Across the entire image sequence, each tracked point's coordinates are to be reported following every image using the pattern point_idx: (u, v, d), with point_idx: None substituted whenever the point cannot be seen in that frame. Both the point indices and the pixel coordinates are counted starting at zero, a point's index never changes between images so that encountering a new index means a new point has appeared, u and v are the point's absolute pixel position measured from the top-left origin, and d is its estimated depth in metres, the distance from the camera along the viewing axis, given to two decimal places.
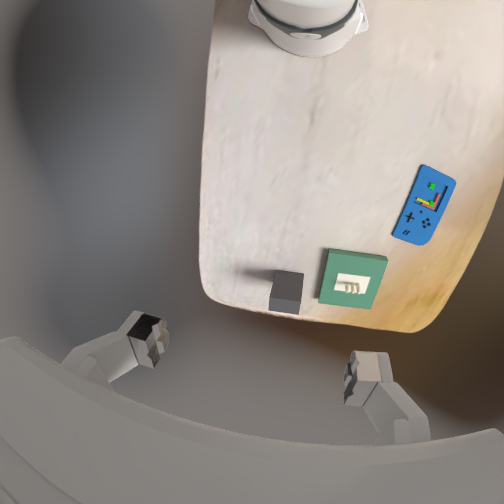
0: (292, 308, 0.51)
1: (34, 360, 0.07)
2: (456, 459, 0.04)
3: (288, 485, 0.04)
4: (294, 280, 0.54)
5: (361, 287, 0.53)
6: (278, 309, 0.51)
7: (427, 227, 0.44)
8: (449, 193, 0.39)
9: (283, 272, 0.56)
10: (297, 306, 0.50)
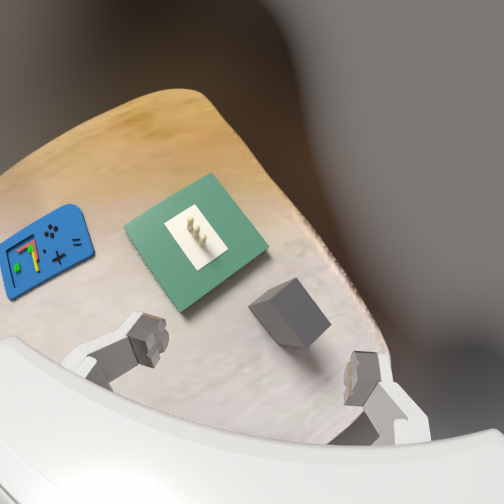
0: (294, 296, 0.25)
1: (34, 360, 0.07)
2: (456, 459, 0.04)
3: (288, 485, 0.04)
4: (262, 316, 0.30)
5: None
6: (316, 313, 0.25)
7: (53, 224, 0.28)
8: (9, 241, 0.26)
9: (270, 333, 0.32)
10: (282, 295, 0.25)
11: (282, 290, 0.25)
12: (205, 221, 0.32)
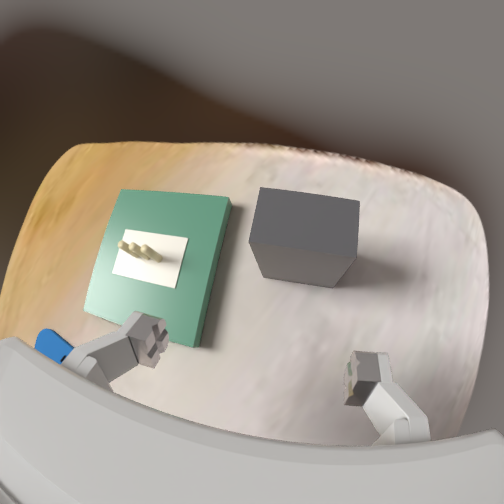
0: (278, 209, 0.15)
1: (34, 360, 0.07)
2: (456, 459, 0.04)
3: (288, 485, 0.04)
4: (282, 272, 0.20)
5: None
6: (326, 205, 0.15)
7: None
8: None
9: (314, 284, 0.22)
10: (261, 220, 0.15)
11: (256, 216, 0.15)
12: (146, 234, 0.24)
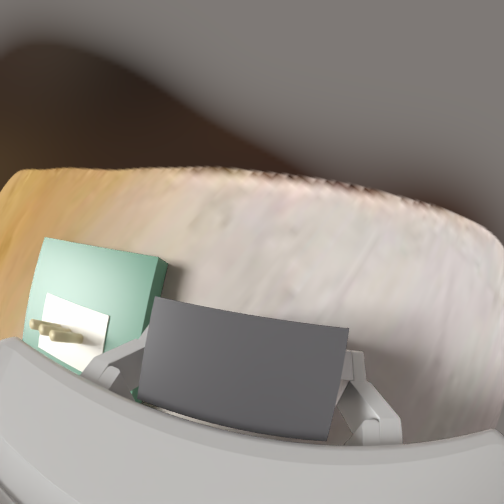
0: (183, 347, 0.07)
1: (34, 360, 0.07)
2: (456, 459, 0.04)
3: (288, 485, 0.04)
4: None
5: (51, 316, 0.16)
6: (279, 341, 0.07)
7: None
8: None
9: None
10: (155, 365, 0.07)
11: (147, 354, 0.08)
12: (66, 303, 0.16)
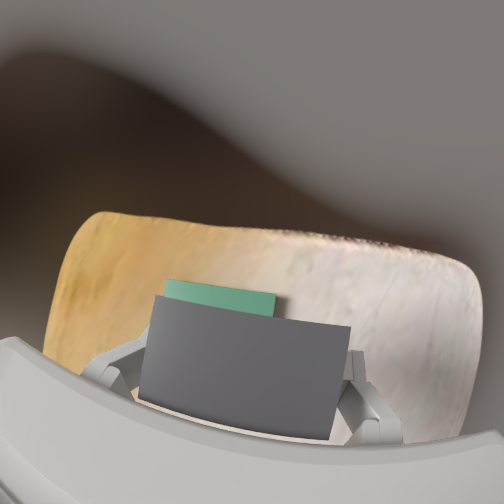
0: (184, 346, 0.07)
1: (34, 360, 0.07)
2: (456, 459, 0.04)
3: (288, 485, 0.04)
4: None
5: None
6: (281, 339, 0.07)
7: None
8: None
9: None
10: (156, 364, 0.07)
11: (148, 353, 0.07)
12: None
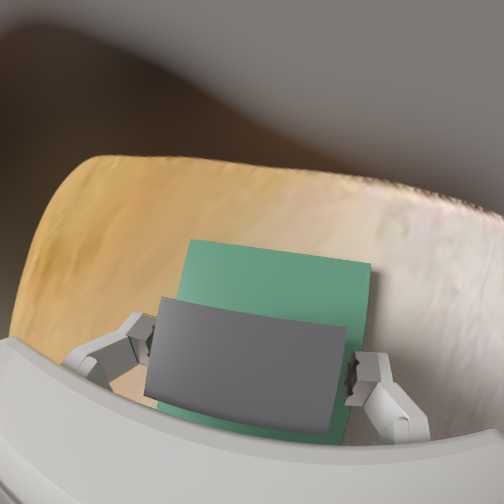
0: (189, 345, 0.08)
1: (34, 360, 0.07)
2: (456, 459, 0.04)
3: (288, 485, 0.04)
4: None
5: None
6: (280, 339, 0.08)
7: None
8: None
9: None
10: (161, 363, 0.08)
11: (153, 352, 0.08)
12: None
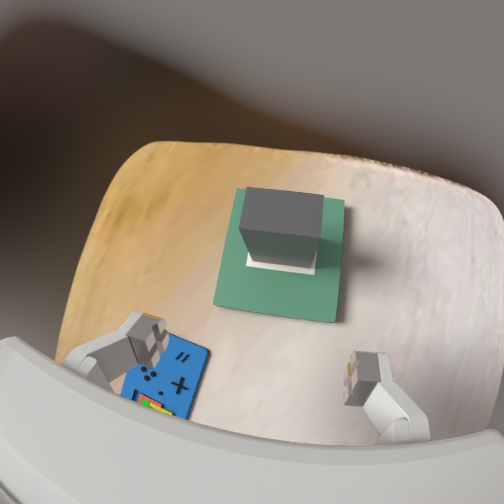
0: (260, 203, 0.20)
1: (34, 360, 0.07)
2: (456, 459, 0.04)
3: (288, 485, 0.04)
4: (267, 255, 0.25)
5: None
6: (297, 199, 0.20)
7: None
8: None
9: (294, 265, 0.26)
10: (248, 212, 0.20)
11: (243, 209, 0.20)
12: None
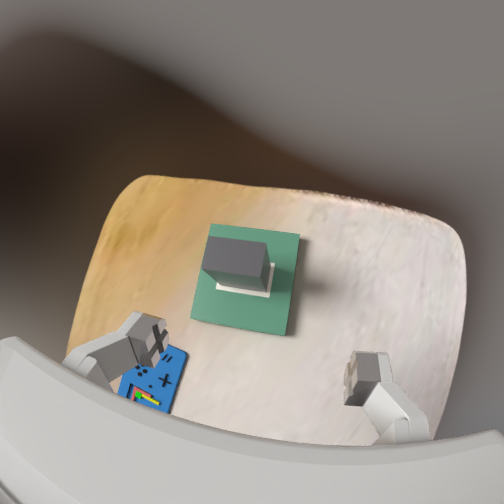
0: (217, 249, 0.27)
1: (34, 360, 0.07)
2: (456, 459, 0.04)
3: (288, 485, 0.04)
4: (229, 283, 0.32)
5: None
6: (245, 246, 0.27)
7: None
8: None
9: (253, 289, 0.33)
10: (208, 256, 0.27)
11: (205, 253, 0.27)
12: None
